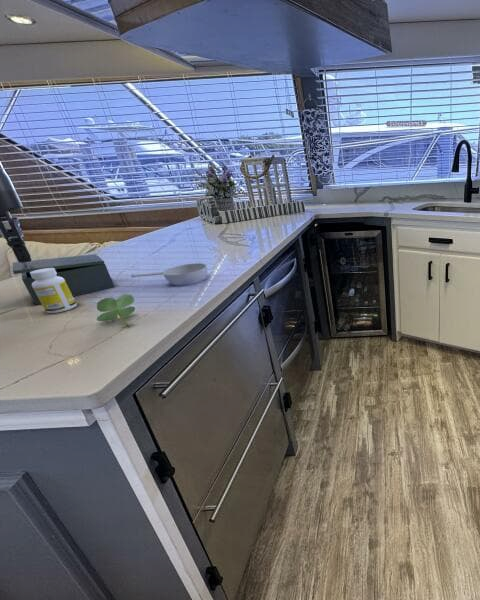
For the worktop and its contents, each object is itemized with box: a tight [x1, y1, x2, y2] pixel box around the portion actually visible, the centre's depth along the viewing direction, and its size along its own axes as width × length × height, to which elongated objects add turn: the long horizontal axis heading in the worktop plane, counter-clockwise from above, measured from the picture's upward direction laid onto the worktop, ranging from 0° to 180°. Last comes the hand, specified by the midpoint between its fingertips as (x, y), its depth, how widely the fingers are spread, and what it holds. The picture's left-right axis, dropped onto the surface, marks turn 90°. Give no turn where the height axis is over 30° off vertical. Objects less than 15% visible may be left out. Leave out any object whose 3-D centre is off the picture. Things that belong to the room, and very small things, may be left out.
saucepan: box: [131, 262, 208, 286], centre depth 91 cm, size 11×18×4 cm, turn 114°
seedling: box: [96, 293, 136, 327], centre depth 68 cm, size 7×8×6 cm
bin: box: [20, 263, 115, 306], centre depth 88 cm, size 16×13×7 cm
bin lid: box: [12, 253, 106, 275], centre depth 85 cm, size 16×13×6 cm
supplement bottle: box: [30, 268, 77, 314], centre depth 75 cm, size 5×5×10 cm
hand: (25, 259), depth 81 cm, fingers closed on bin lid, 5 cm apart
